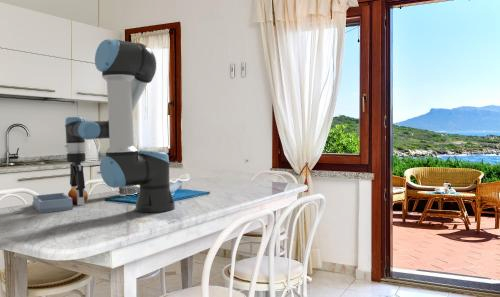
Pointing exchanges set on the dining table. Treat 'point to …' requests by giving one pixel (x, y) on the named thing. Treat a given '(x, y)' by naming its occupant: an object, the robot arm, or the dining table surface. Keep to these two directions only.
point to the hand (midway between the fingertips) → (77, 202)
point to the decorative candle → (127, 190)
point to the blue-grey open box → (52, 202)
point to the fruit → (73, 195)
